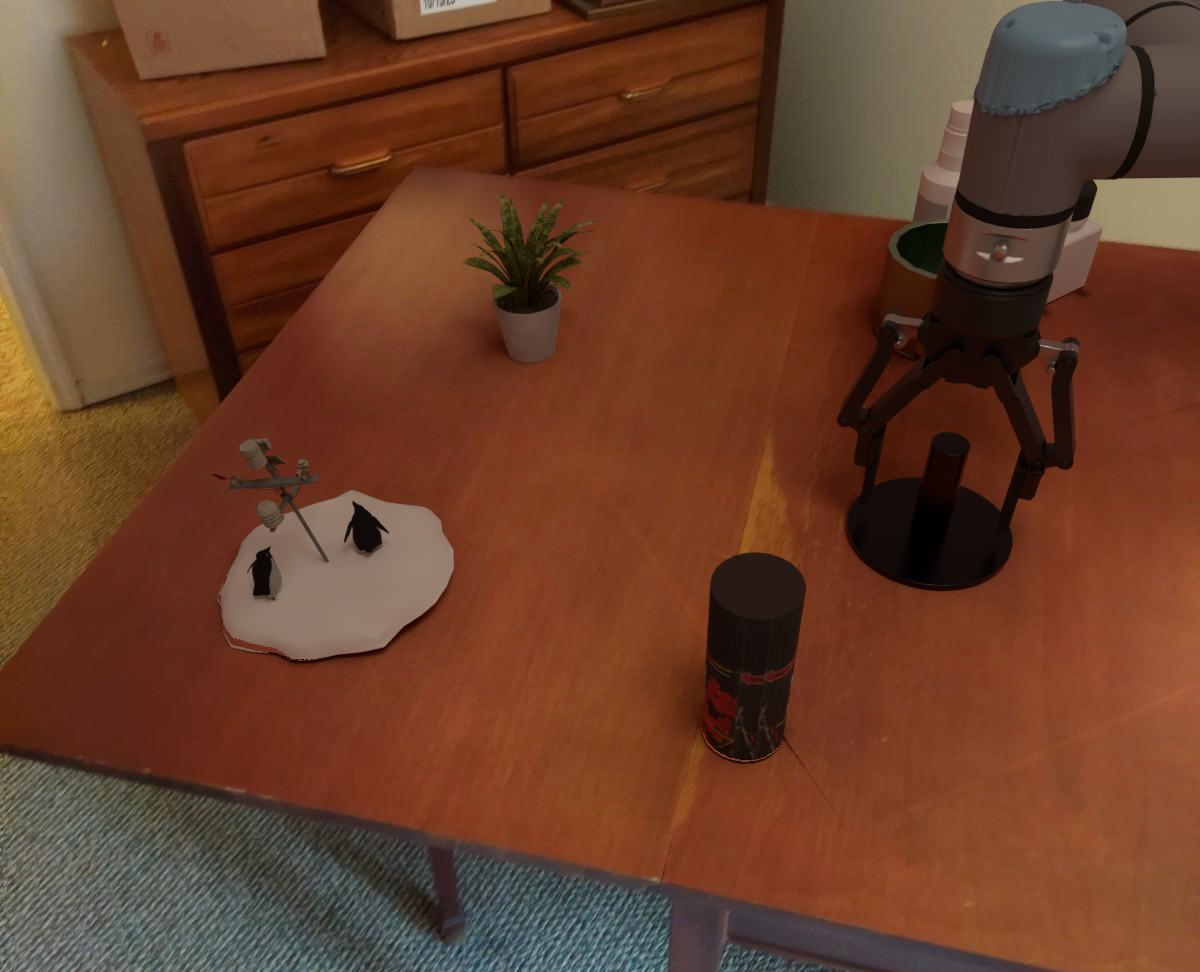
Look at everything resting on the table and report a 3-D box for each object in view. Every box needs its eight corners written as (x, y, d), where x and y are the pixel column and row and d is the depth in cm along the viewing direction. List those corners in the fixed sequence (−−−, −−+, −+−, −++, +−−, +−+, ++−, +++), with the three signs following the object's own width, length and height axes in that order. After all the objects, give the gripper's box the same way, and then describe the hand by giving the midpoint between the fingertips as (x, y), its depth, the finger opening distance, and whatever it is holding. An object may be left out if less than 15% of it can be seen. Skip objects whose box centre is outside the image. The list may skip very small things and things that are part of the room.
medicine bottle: (1085, 286, 118) (1120, 181, 109) (1042, 307, 115) (1074, 200, 106) (1033, 261, 122) (1063, 157, 113) (990, 280, 119) (1018, 175, 111)
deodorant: (794, 756, 75) (818, 612, 64) (712, 769, 75) (723, 626, 64) (771, 692, 79) (790, 546, 69) (693, 704, 79) (700, 559, 68)
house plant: (571, 406, 105) (561, 253, 93) (444, 383, 109) (419, 233, 97) (616, 330, 114) (612, 183, 103) (497, 312, 118) (481, 167, 106)
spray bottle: (919, 247, 125) (950, 88, 112) (974, 263, 122) (1013, 101, 109) (894, 272, 121) (923, 111, 108) (951, 289, 118) (988, 125, 105)
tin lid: (1044, 564, 88) (1080, 468, 80) (906, 616, 84) (931, 520, 77) (943, 470, 97) (967, 376, 89) (814, 514, 93) (829, 419, 86)
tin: (1022, 346, 110) (1047, 262, 103) (921, 378, 107) (940, 293, 100) (947, 290, 118) (966, 208, 111) (851, 318, 115) (864, 235, 108)
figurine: (447, 486, 95) (398, 332, 83) (464, 636, 83) (410, 481, 71) (228, 533, 95) (148, 385, 83) (213, 691, 83) (116, 544, 71)
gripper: (818, 263, 73) (787, 507, 89) (1179, 319, 67) (1076, 570, 82) (841, 214, 77) (808, 454, 93) (1180, 262, 71) (1083, 510, 87)
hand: (933, 508), depth 88 cm, fingers open, 10 cm apart
